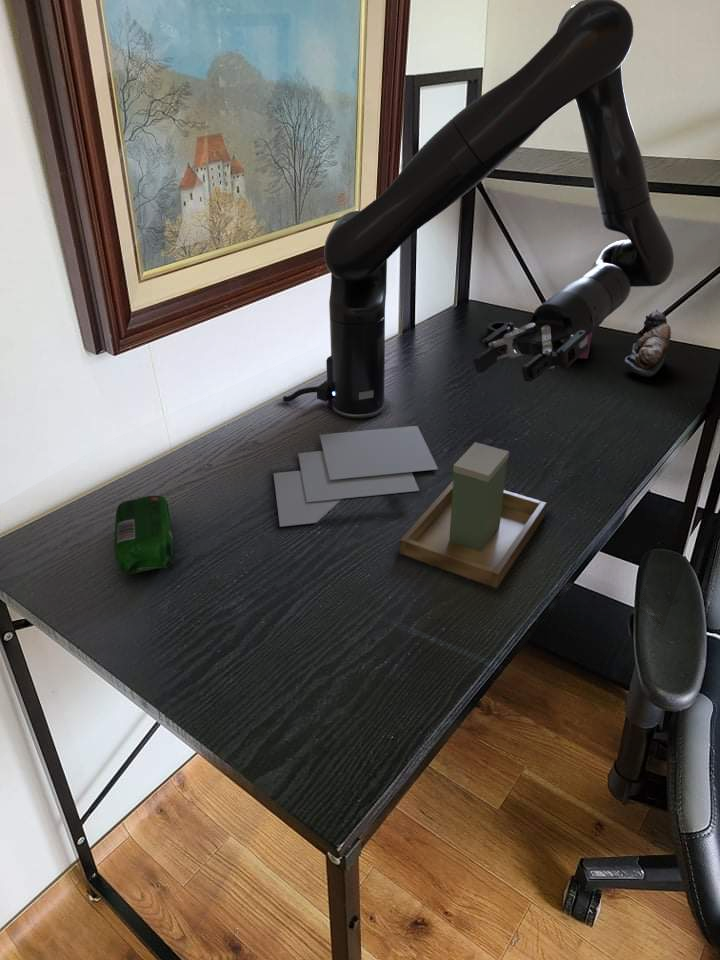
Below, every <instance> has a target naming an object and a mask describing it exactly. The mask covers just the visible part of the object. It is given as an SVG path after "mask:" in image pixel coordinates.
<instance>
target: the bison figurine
mask: <svg viewBox="0 0 720 960" xmlns="http://www.w3.org/2000/svg"><path fill="white" fill-rule="evenodd" d="M667 321H668V320H667V318H666V316H665V314H664V313H663V312H660V311H659V310H658V309H656V310H655V311H652V312H650V313H649V315H645V319H644V321H643V327H642V330H643V331H645V333H644V334H643V335H642V336H641V337H640V338H638V339H637V341H636V342H634V343H633V344H632V349H631V354H630V355H627V356H626V357H625V358H624V363H625V365H626V366H627V368H628V370H629V371H630V372H632V373H634V374H635V375H638V376H641V377H646V378H651V377H653V376H655V375H656V374H657V373H658V372H659V370H660V369H661V368H662V367H663V364H664V360H665V357H666V355H667V350H668V348H669V345H670V340H671V339H672V338H671V337H672V336H671V335H672V331H671V330H672V329H671V326H670V325H669V324H668V322H667Z"/></svg>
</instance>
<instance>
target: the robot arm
mask: <svg viewBox="0 0 720 960" xmlns="http://www.w3.org/2000/svg"><path fill="white" fill-rule="evenodd" d="M633 38H634V23H633V19H632V16H631V14H630V12H629V11H628V10H627V8H626V7H625V6H623V5H622V3H620V2H618V1H617V0H580V1H578V2H576V3H575V4H573V5H571V7H569V8H568V9H567V11H565V13H564V14H563V16H562V17H561V19H560V21H559V22H558V25H557V28H556V31H555V33H554V35H553V36H552V37H551V38H549V40H548V41H547V42H546V43H545V44H544V45H543V46H542V47H541V48H540V49H539V51H537V52H536V54H534V55H533V56H532V57H531V58H530V59H529V61H527V63H525V64H524V65H523V66H522V67H521V68H520V69H519V70H518V71H516V72H515V73H514V74H513V75H510V77H508V78H507V79H505V80H504V81H502V82H501V83H499V84H498V85H496V86H494V87H493V88H491V89H490V90H488V91H487V92H485V93H484V94H482V95H481V96H479V97H477V99H475V100H474V101H472V102H470V104H468V105H467V106H465V107H464V108H463V109H461V110H460V111H459V112H458V113H456V115H455V116H453V117H452V118H451V119H450V120H449V121H448V122H447V123H445V125H444V126H442V127H441V128H440V129H439V130H438V131H436V133H434V134H433V135H432V136H431V137H430V139H428V140H427V141H426V142H425V143H424V145H422V147H420V149H419V150H418V151H417V152H416V153H415V154H414V156H413V157H412V158H411V159H410V160H409V161H408V162H407V164H406V165H405V166H404V168H402V170H401V171H400V173H399V174H398V175H397V176H396V178H395V179H394V180H393V181H392V182H391V184H390V185H389V186H388V187H387V188H386V189H385V190H384V191H383V192H382V193H380V195H379V196H378V197H377V198H375V199H373V200H372V201H371V203H369V204H367V205H366V206H365V207H364V208H363V209H362V210H353V211H349V212H346V213H344V214H343V215H342V216H340V217H339V218H338V219H337V220H336V221H335V223H333V226H332V228H331V229H330V231H329V232H328V235H327V236H326V239H325V242H324V248H323V256H324V262H325V266H326V268H327V270H328V271H329V272H330V291H329V298H328V299H329V301H328V307H329V308H328V312H329V331H330V332H329V333H330V335H329V336H330V337H329V338H330V355H329V356H328V357H327V358H326V359H325V361H326V380H325V381H324V382H322V383H320V384H319V385H318V386H309V387H304V388H300V389H298V390H296V391H294V392H293V393H292V394H290V395H288V396H287V395H284V396H282V397H283V398H282V401H283V402H285V403H289V402H292V401H294V400H296V399H297V398H298V397H300V396H302V395H303V396H304V395H306V394H311V393H316V399H317V400H320V401H324V402H327V408H328V409H330V410H332V411H333V412H334V413H335V414H336V415H338V416H340V417H343V418H346V419H353V420H363V419H370V418H374V417H376V416H378V415H380V414H382V413H383V411H384V410H385V408H386V402H385V374H386V373H385V371H386V370H385V366H386V365H385V363H386V362H385V361H386V360H385V356H386V355H385V353H386V351H385V350H386V348H385V347H386V299H387V282H388V281H387V278H388V277H387V276H388V259H389V258H390V257H391V256H392V255H393V254H394V253H395V252H397V250H398V249H399V248H400V247H401V246H402V245H403V244H404V243H405V242H406V241H407V240H408V239H409V238H410V237H411V236H412V235H413V234H414V233H415V232H416V231H418V230H419V229H420V228H422V227H423V226H424V225H426V224H427V223H428V222H430V221H432V219H435V217H437V216H438V215H440V214H441V213H442V212H444V211H445V210H446V209H448V208H449V207H450V206H452V205H453V204H454V203H456V202H457V201H458V200H460V198H463V196H465V195H466V194H468V193H469V192H470V191H471V190H472V189H473V188H474V187H476V186H477V185H478V184H479V183H481V182H482V181H483V180H484V179H485V178H487V177H488V176H489V175H490V174H491V173H493V172H494V171H495V170H496V169H497V168H498V167H499V166H500V165H501V164H502V163H503V162H505V161H506V160H507V159H508V158H509V157H510V156H511V155H512V154H513V153H514V152H515V151H517V149H519V148H520V147H521V146H522V145H523V144H524V143H525V142H526V141H527V140H528V139H529V138H530V137H531V136H532V135H533V134H534V133H535V132H536V131H537V130H538V129H539V128H540V127H541V126H542V125H544V124H545V122H547V120H549V118H550V119H551V117H553V116H554V115H555V114H556V113H557V112H559V111H560V110H561V109H563V108H564V107H566V106H567V105H569V104H570V103H571V102H573V101H575V104H576V107H577V110H578V114H579V117H580V121H581V124H582V129H583V133H584V138H585V143H586V148H587V153H588V159H589V164H590V170H591V176H592V180H593V185H594V190H595V196H596V199H597V200H596V201H597V205H598V210H599V213H600V218H601V222H602V225H603V227H605V229H606V230H609V231H612V232H616V233H621V234H622V235H625V236H626V237H627V238H628V239H622V240H617V241H614V242H612V243H610V244H609V245H607V246H606V247H604V248H603V249H602V251H601V252H600V254H599V255H598V256H597V258H596V259H595V260H594V262H593V264H592V266H591V268H590V269H589V270H587V271H586V272H584V274H582V275H581V276H580V277H578V278H577V279H575V280H574V281H573V282H570V283H569V284H566V285H565V286H564V287H562V288H561V289H560V290H559V291H557V292H556V293H555V294H553V295H552V296H551V297H549V298H548V299H547V300H545V301H544V302H543V303H542V304H540V305H539V306H538V307H537V308H535V310H534V312H533V314H532V317H531V320H530V322H529V323H527V324H524V325H522V326H521V327H519V328H517V327H515V328H514V326H515V325H514V323H513V322H512V321H511V322H508V323H506V324H505V325H503V326H502V327H500V328H499V329H498V330H496V331H495V332H493V333H492V334H490V335H489V336H488V337H484V338H483V339H482V341H481V343H482V347H483V350H484V351H482V352H481V353H480V354H478V355H477V356H475V357H474V359H473V364H474V368H475V372H476V373H480V374H483V373H484V372H485V371H487V370H488V369H489V368H491V367H492V366H493V365H495V364H496V363H497V362H498V361H499V360H502V359H505V358H510V359H515V358H518V357H521V356H524V355H528V356H529V355H531V356H534V357H532V358H531V359H530V360H529V361H528V362H526V363H525V364H524V365H523V366H522V368H521V372H522V377H523V381H525V382H527V383H531V382H533V380H535V379H537V378H538V377H540V376H541V375H542V374H543V373H544V372H547V370H553V369H555V367H558V366H559V369H561V370H564V369H567V368H569V367H570V366H572V364H574V362H575V361H577V359H579V358H578V357H580V356H581V355H582V354H583V353H584V352H585V351H586V350H587V349H588V348H589V347H588V341H587V335H588V334H590V333H591V332H592V331H593V332H594V331H595V330H596V329H597V328H598V327H599V326H600V325H601V324H602V323H603V322H604V321H605V319H607V318H608V317H609V316H610V315H611V314H613V312H615V311H617V309H619V307H621V306H622V305H623V304H624V303H625V302H626V300H627V299H628V298H629V296H630V293H631V288H638V287H641V288H643V287H656V286H659V285H662V284H664V283H665V282H666V281H667V280H668V278H670V276H671V274H672V271H673V269H674V263H675V253H674V249H673V246H672V243H671V241H670V239H669V236H668V235H667V233H666V230H665V229H664V227H663V225H662V223H661V221H660V218H659V217H658V215H657V213H656V210H655V209H654V207H653V205H652V202H651V195H650V189H649V184H648V178H647V174H646V169H645V164H644V161H643V156H642V153H641V149H640V146H639V143H638V140H637V137H636V133H635V130H634V127H633V124H632V121H631V118H630V115H629V110H628V105H627V102H626V96H625V92H624V84H623V83H624V82H623V69H622V68H623V67H622V64H623V62H624V61H625V60H626V58H627V56H628V54H629V52H630V49H631V46H632V42H633V40H634V39H633ZM513 325H514V326H513ZM515 340H516V346H517V349H514V346H513V344H514V341H515ZM505 347H506V349H505ZM503 349H505V350H503ZM589 349H590V348H589ZM502 350H503V351H502ZM567 354H568V355H567Z"/></svg>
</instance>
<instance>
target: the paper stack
mask: <svg viewBox="0 0 720 960" xmlns="http://www.w3.org/2000/svg"><path fill="white" fill-rule="evenodd" d="M319 438H320V443H321V447H322V450H317V451H308V452H307V451H306V452H298V454H297V455H298V460H299V466H300V467H299V468H300V470H291V471H281V472H273V480H274V489H275V497H276V506H277V512H278V513H277V515H278V522H279V523H278V524H279V527H281V528H282V527H290V526H291V527H292V526H300V525H309V524H317V523H319V521H320V520H321V519H322V518H323V517H324V516H325V515H327V514H328V513H329V512H330V511H331V510H332V509H333V508H334V507H335V506H336V505H337V504H339V502H340V501H342V500H343V499H354V498H361V497H362V498H364V497H374V496H381V495H382V496H383V495H393V494H401V493H411V492H412V493H413V492H420V488H419V486H418V483H417V481H416V479H415V476H414V474H413V473H414V472H415V473H416V472H424V471H435V470H439V468H438V466H437V464H436V462H435V458H434V457H433V456H432V453H431V450H430V449H429V447H428V444H427V442H426V440H425V439H424V436H423V434H422V432H421V430H420V428H419V426H418V425H411V426H400V427H390V428H389V427H388V428H378V429H367V430H356V431H355V430H354V431H346V432H345V431H344V432H334V433H321V434H319Z"/></svg>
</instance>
